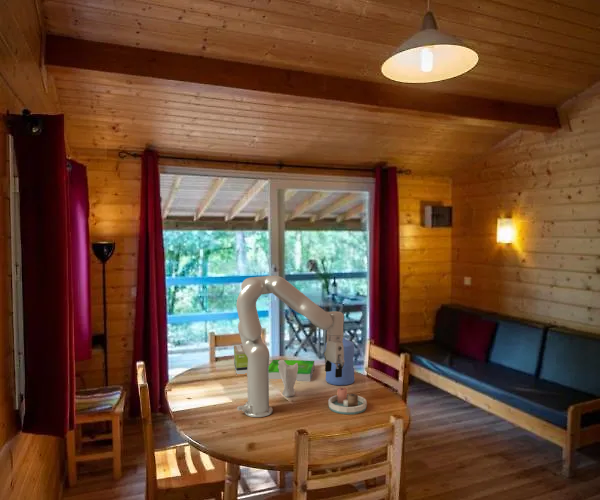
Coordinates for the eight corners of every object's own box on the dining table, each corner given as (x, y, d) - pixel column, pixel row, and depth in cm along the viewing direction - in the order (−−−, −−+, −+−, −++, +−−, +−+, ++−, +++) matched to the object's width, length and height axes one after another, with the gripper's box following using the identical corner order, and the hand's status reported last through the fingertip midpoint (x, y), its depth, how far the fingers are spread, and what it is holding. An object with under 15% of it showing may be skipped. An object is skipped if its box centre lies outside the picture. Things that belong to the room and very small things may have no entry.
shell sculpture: (300, 395, 224) (300, 359, 224) (288, 399, 218) (288, 362, 218) (288, 391, 230) (288, 356, 230) (276, 395, 224) (276, 359, 224)
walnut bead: (351, 410, 201) (351, 397, 201) (346, 407, 205) (346, 394, 205) (359, 409, 203) (359, 395, 203) (354, 405, 207) (354, 392, 207)
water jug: (342, 388, 235) (342, 334, 234) (319, 381, 245) (319, 330, 244) (360, 380, 246) (360, 329, 245) (337, 375, 257) (337, 326, 256)
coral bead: (340, 404, 209) (340, 391, 209) (335, 401, 213) (335, 388, 213) (348, 402, 211) (348, 389, 211) (343, 399, 215) (343, 386, 215)
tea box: (233, 369, 269) (233, 344, 269) (250, 368, 272) (250, 343, 271) (236, 377, 255) (236, 351, 254) (254, 375, 257) (253, 349, 257)
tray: (273, 367, 274) (273, 359, 274) (314, 369, 271) (314, 360, 271) (264, 380, 249) (264, 371, 249) (310, 382, 246) (310, 373, 246)
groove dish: (341, 417, 197) (341, 410, 197) (321, 404, 212) (321, 397, 212) (373, 410, 204) (373, 403, 204) (352, 398, 220) (352, 392, 220)
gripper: (351, 341, 207) (349, 378, 207) (332, 334, 223) (331, 368, 223) (337, 342, 204) (335, 380, 204) (319, 334, 219) (317, 369, 220)
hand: (333, 374), depth 213 cm, fingers open, 9 cm apart
